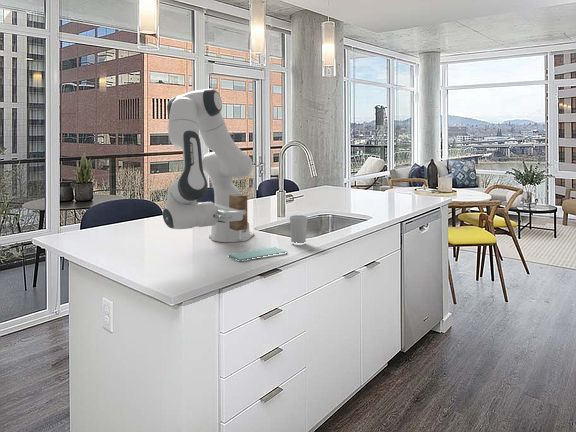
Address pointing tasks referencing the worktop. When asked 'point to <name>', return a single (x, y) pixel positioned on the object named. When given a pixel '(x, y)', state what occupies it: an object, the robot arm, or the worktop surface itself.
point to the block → (238, 203)
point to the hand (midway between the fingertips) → (240, 210)
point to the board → (256, 253)
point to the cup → (298, 228)
